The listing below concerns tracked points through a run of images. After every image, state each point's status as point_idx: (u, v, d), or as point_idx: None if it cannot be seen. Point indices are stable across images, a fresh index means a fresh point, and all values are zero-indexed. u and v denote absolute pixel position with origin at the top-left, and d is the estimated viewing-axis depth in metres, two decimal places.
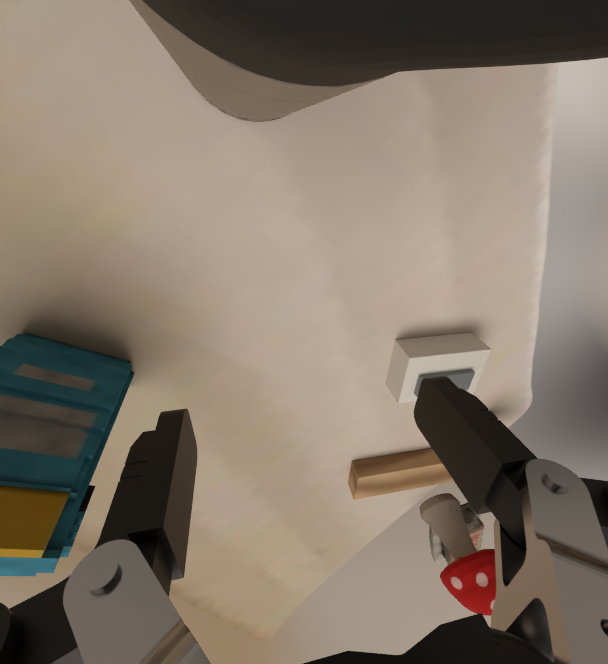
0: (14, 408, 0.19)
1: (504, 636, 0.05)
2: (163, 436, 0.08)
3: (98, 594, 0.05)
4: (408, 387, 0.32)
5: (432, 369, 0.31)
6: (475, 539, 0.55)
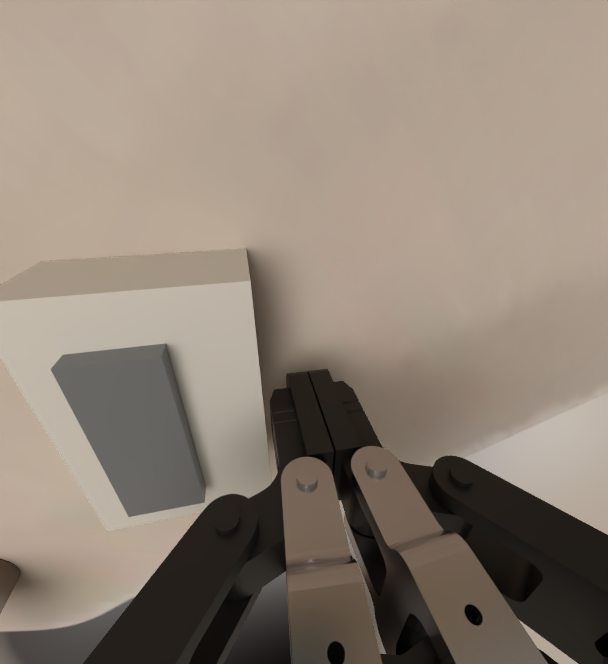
0: None
1: None
2: (299, 390, 0.10)
3: (312, 490, 0.07)
4: (90, 320, 0.07)
5: (197, 382, 0.09)
6: None
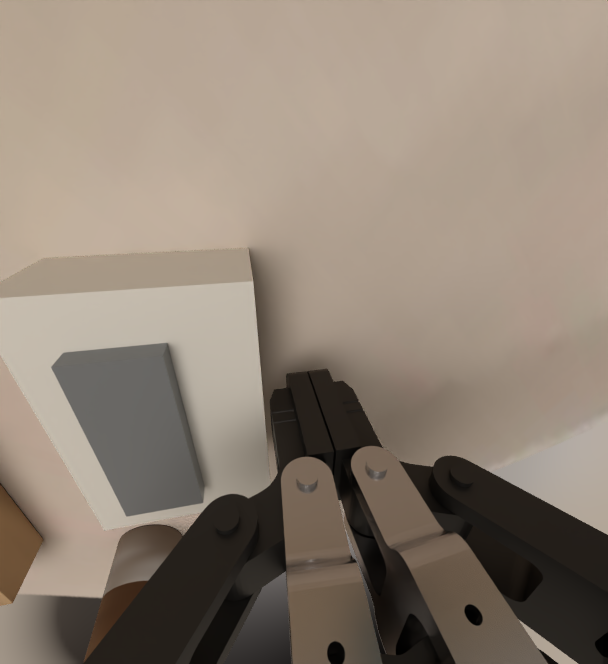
0: None
1: None
2: (299, 390, 0.10)
3: (312, 490, 0.07)
4: (92, 318, 0.07)
5: (198, 382, 0.09)
6: None
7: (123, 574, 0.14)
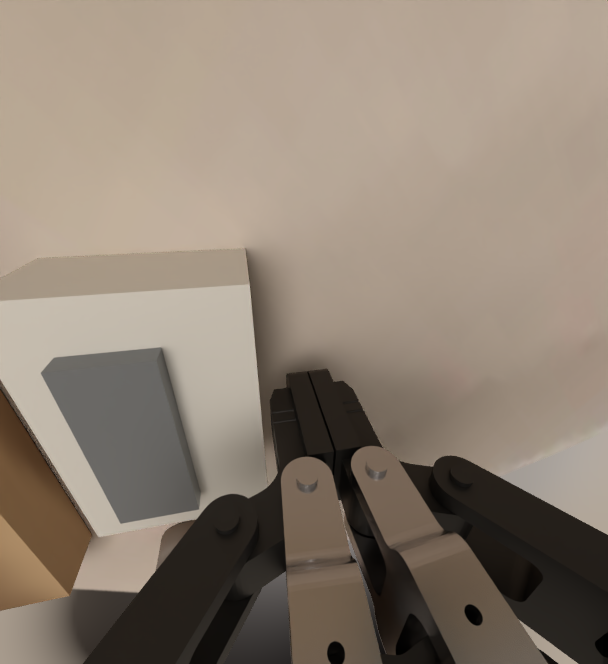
0: None
1: None
2: (299, 390, 0.10)
3: (312, 490, 0.07)
4: (83, 322, 0.07)
5: (193, 387, 0.09)
6: None
7: None
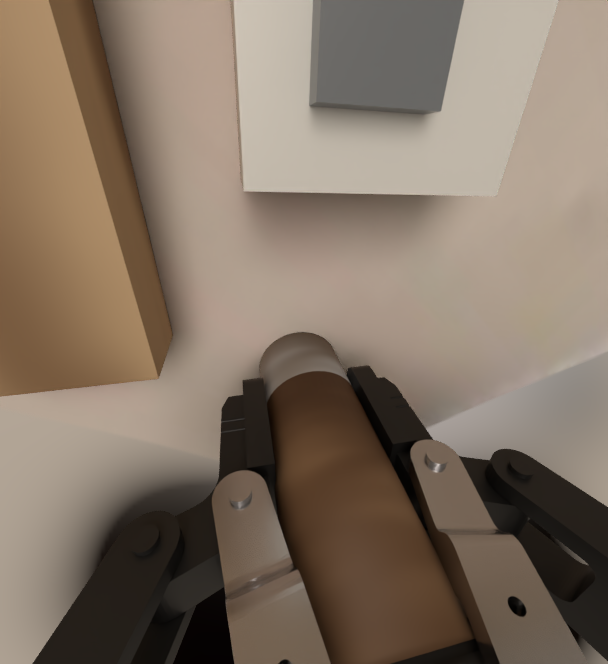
0: None
1: (440, 661, 0.05)
2: (251, 398, 0.10)
3: (242, 506, 0.06)
4: None
5: None
6: None
7: (295, 367, 0.10)
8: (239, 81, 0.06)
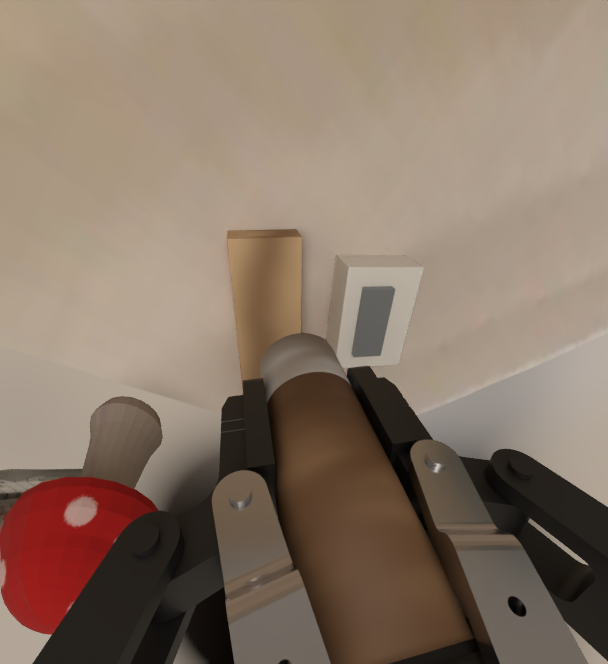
0: None
1: (440, 661, 0.05)
2: (251, 398, 0.10)
3: (242, 506, 0.06)
4: (375, 275, 0.23)
5: (394, 302, 0.25)
6: None
7: (296, 368, 0.10)
8: (337, 351, 0.26)
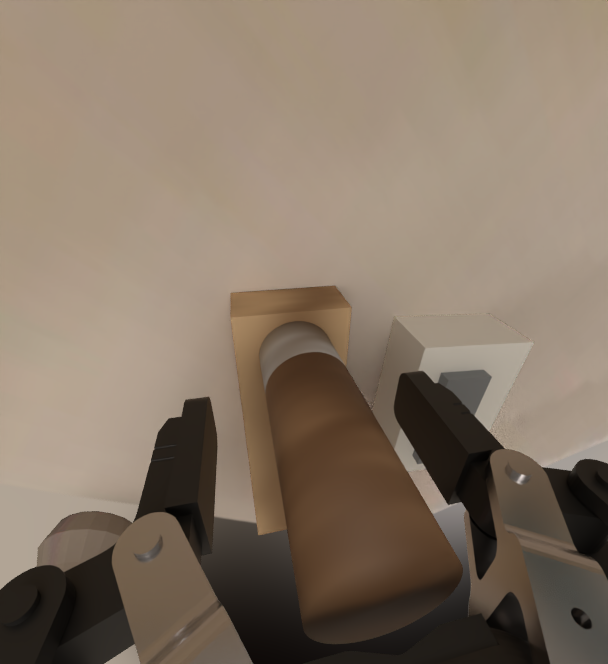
0: None
1: (484, 638, 0.05)
2: (190, 421, 0.09)
3: (144, 559, 0.06)
4: (463, 357, 0.15)
5: None
6: None
7: (293, 349, 0.11)
8: None
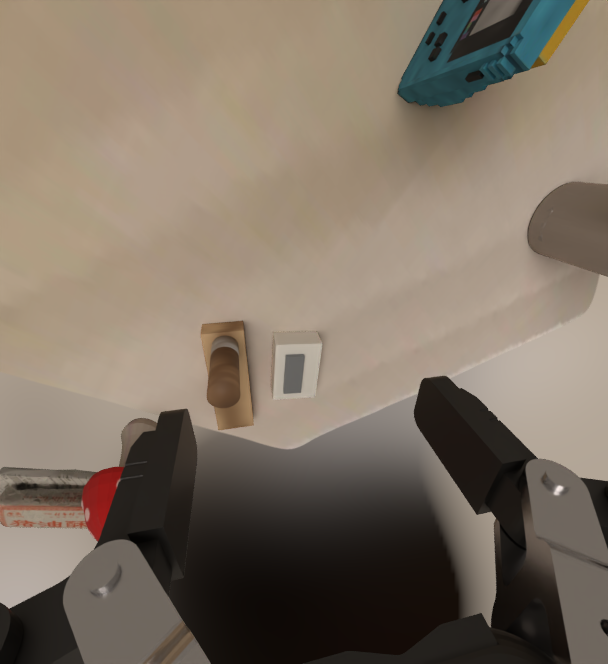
0: None
1: (504, 636, 0.05)
2: (163, 436, 0.08)
3: (98, 594, 0.05)
4: (293, 348, 0.39)
5: (307, 362, 0.41)
6: None
7: (219, 345, 0.35)
8: (273, 389, 0.42)
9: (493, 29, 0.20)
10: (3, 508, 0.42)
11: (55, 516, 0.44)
